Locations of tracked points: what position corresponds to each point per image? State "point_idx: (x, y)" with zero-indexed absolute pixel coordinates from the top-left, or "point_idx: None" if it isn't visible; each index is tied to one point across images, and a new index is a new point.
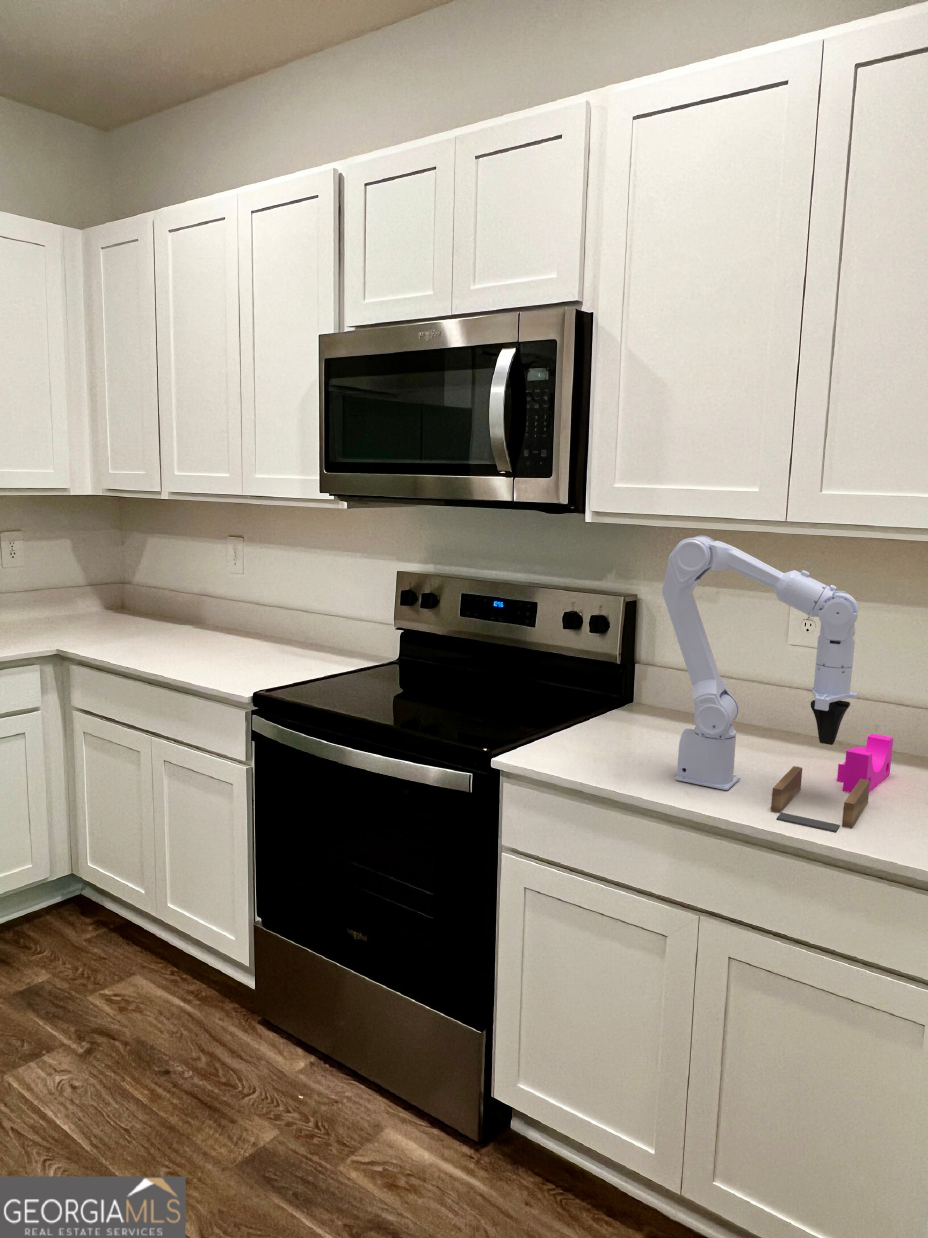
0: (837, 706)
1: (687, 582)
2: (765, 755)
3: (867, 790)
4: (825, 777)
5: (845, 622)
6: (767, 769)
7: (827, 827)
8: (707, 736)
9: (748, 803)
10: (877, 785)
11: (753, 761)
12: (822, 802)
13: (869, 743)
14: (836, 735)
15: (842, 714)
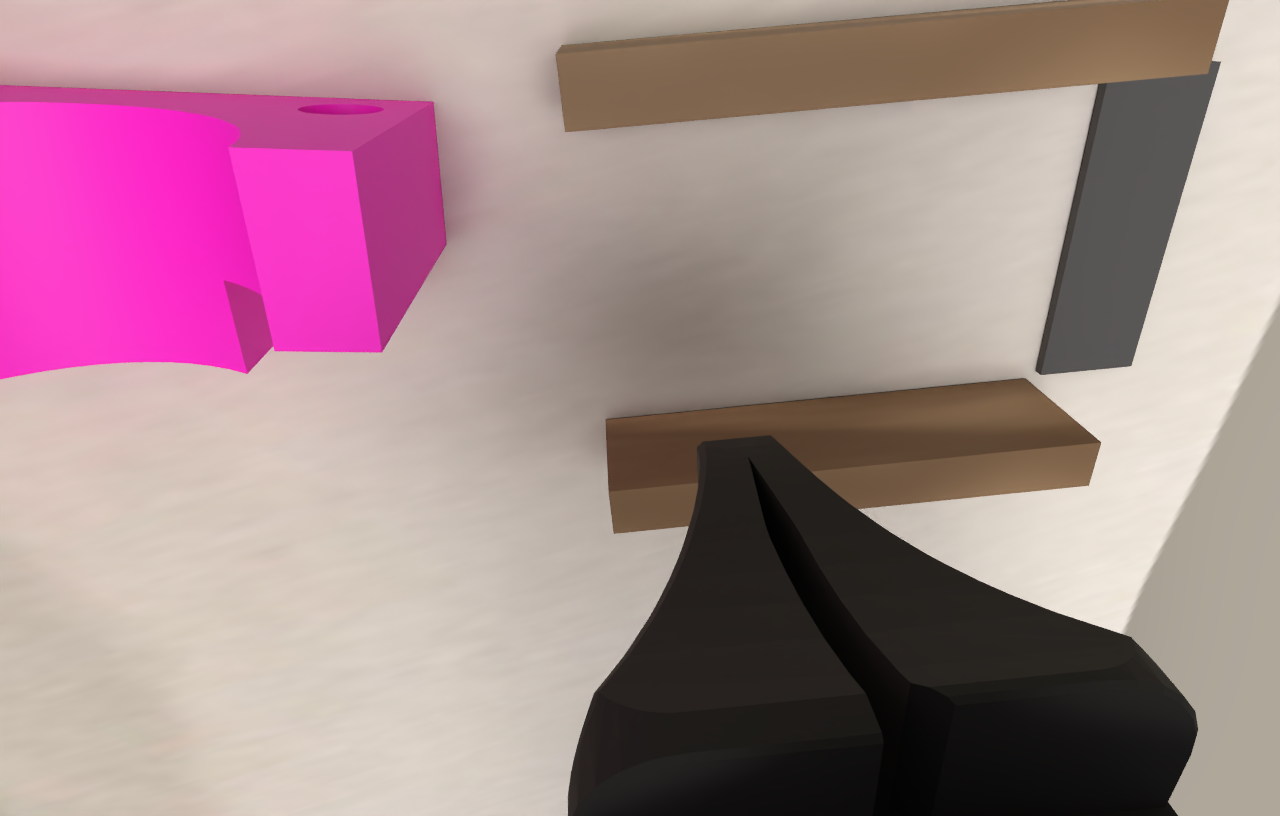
0: (1015, 804)
1: None
2: (209, 689)
3: (636, 44)
4: (281, 391)
5: None
6: (414, 617)
7: (1181, 120)
8: None
9: (953, 515)
10: (135, 90)
11: (351, 689)
12: (732, 273)
13: None
14: (732, 472)
15: (992, 623)
